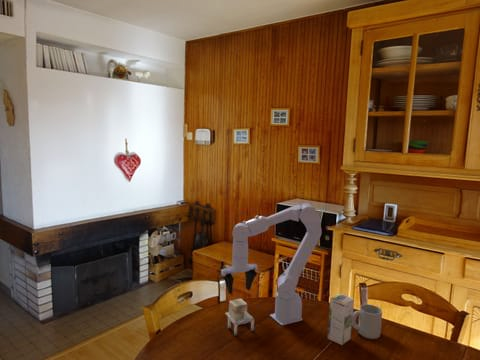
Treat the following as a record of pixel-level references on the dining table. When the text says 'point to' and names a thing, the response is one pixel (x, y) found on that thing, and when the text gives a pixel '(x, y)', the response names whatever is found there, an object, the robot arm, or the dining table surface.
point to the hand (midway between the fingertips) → (239, 291)
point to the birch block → (237, 308)
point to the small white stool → (241, 322)
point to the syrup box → (340, 319)
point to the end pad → (235, 319)
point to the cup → (368, 321)
